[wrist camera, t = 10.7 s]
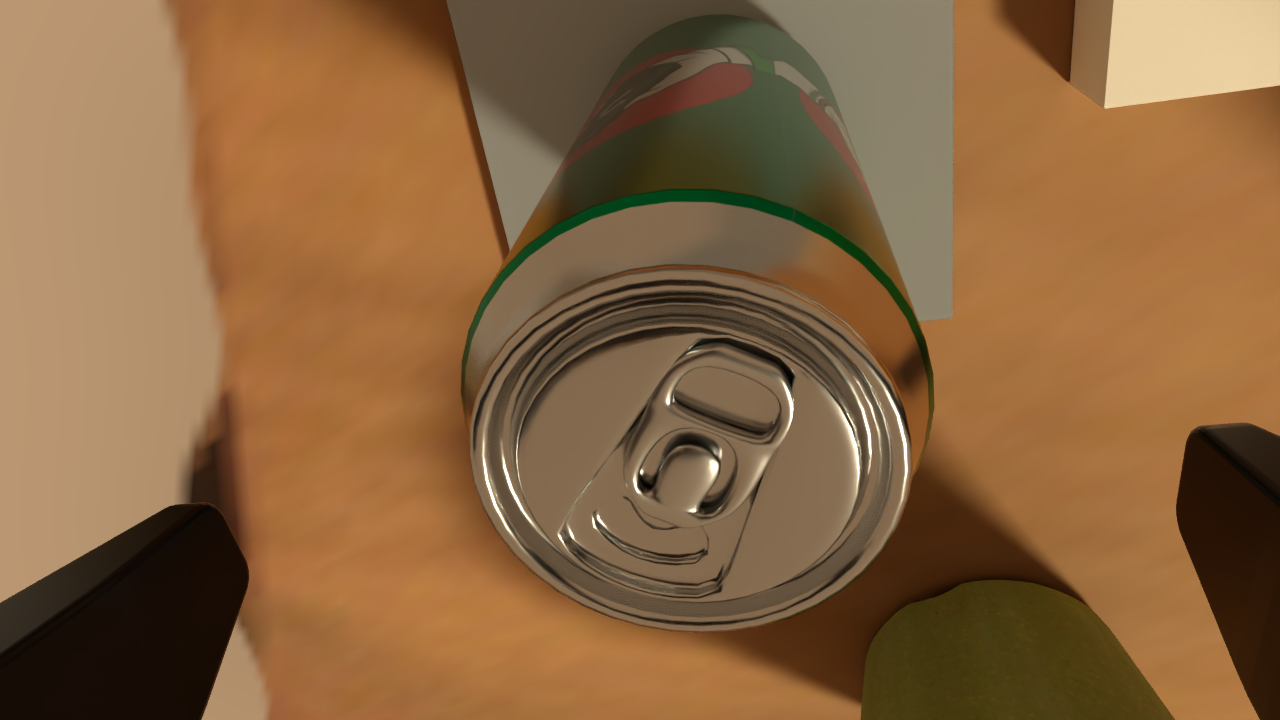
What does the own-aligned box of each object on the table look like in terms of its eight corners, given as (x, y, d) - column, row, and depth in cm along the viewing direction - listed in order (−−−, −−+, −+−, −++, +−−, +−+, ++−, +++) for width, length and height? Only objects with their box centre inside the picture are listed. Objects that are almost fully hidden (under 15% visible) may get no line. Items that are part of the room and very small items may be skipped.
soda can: (568, 195, 20) (380, 566, 10) (649, -32, 17) (513, 139, 7) (773, 277, 20) (805, 715, 10) (881, 68, 18) (1072, 364, 8)
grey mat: (947, 308, 21) (952, 318, 20) (541, 349, 23) (537, 358, 22) (949, -180, 16) (955, -180, 16) (433, -82, 18) (425, -80, 17)
